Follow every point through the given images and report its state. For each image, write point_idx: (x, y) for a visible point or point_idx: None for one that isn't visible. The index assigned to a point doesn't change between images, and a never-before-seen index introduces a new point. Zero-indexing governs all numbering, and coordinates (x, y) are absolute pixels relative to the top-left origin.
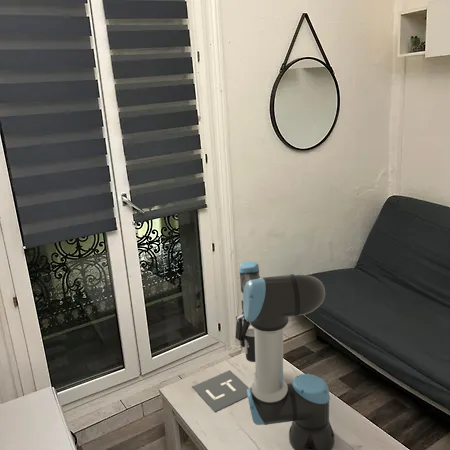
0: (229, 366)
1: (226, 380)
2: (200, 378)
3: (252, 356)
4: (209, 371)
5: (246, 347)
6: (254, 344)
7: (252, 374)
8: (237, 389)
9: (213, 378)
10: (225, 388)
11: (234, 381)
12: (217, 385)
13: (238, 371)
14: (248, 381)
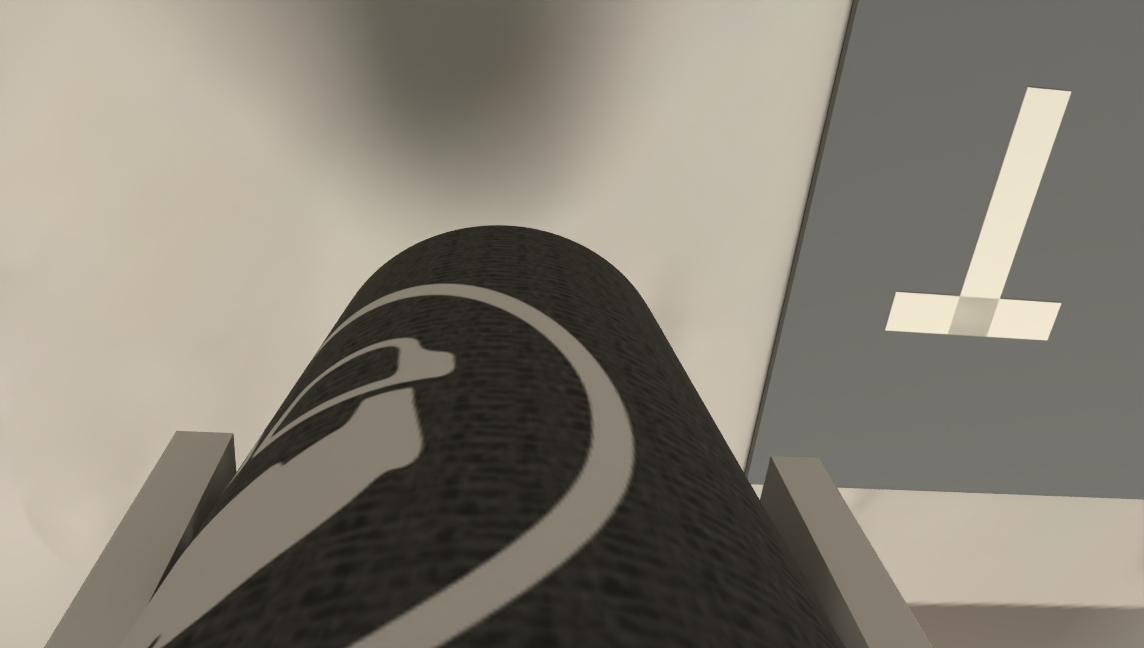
0: None
1: (940, 345)
2: (1080, 561)
3: (661, 341)
4: (918, 598)
5: (875, 603)
6: (730, 537)
7: (571, 223)
8: (1001, 85)
9: (1008, 474)
10: (1084, 221)
11: (886, 260)
12: (1091, 339)
13: None
14: (734, 132)
